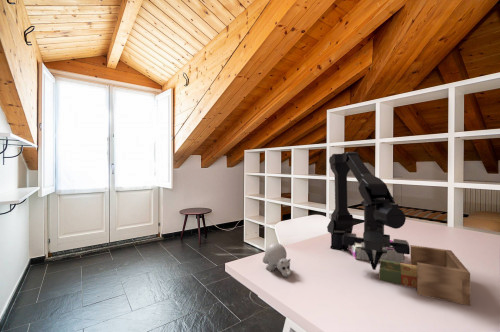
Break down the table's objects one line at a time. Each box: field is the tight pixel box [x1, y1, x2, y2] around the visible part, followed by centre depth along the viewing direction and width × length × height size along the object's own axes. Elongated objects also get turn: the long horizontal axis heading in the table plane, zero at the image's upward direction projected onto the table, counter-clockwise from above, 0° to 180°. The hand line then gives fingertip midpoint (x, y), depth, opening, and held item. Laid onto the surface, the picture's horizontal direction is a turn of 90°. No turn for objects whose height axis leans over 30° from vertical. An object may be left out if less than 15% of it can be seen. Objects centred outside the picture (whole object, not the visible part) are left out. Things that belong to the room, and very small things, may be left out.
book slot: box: [409, 244, 471, 307], centre depth 68 cm, size 10×18×8 cm, turn 151°
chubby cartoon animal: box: [262, 242, 291, 278], centre depth 76 cm, size 7×12×8 cm, turn 24°
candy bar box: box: [348, 239, 405, 263], centre depth 90 cm, size 11×5×16 cm
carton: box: [378, 259, 417, 289], centre depth 70 cm, size 8×16×4 cm, turn 59°
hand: (374, 269), depth 75 cm, fingers closed
